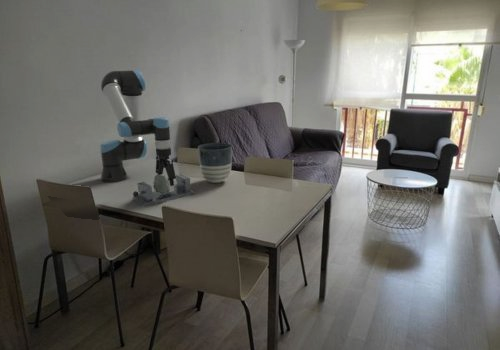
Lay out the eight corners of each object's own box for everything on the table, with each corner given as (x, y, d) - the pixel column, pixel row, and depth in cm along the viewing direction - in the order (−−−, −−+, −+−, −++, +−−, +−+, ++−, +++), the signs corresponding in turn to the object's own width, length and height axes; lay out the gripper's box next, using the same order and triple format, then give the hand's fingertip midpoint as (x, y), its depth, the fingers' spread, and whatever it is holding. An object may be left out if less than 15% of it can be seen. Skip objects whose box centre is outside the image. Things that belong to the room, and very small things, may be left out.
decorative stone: (158, 196, 187) (169, 179, 187) (146, 184, 192) (156, 169, 192) (173, 201, 198) (184, 185, 198) (161, 190, 204) (171, 175, 203)
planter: (193, 184, 215) (191, 148, 209) (209, 175, 232) (208, 142, 226) (224, 188, 208) (222, 150, 202) (238, 178, 225) (237, 144, 219)
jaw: (129, 198, 189) (128, 184, 187) (144, 194, 194) (142, 180, 191) (138, 203, 181) (136, 188, 179) (152, 199, 186) (151, 185, 184)
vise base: (132, 199, 192) (131, 182, 190) (180, 187, 209) (179, 172, 207) (144, 206, 182) (142, 189, 179) (193, 193, 199) (192, 177, 196)
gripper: (146, 145, 196) (150, 185, 202) (167, 152, 179) (170, 195, 185) (159, 143, 200) (162, 182, 207) (181, 150, 183) (183, 192, 190)
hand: (166, 188), depth 196 cm, fingers closed on decorative stone, 10 cm apart
